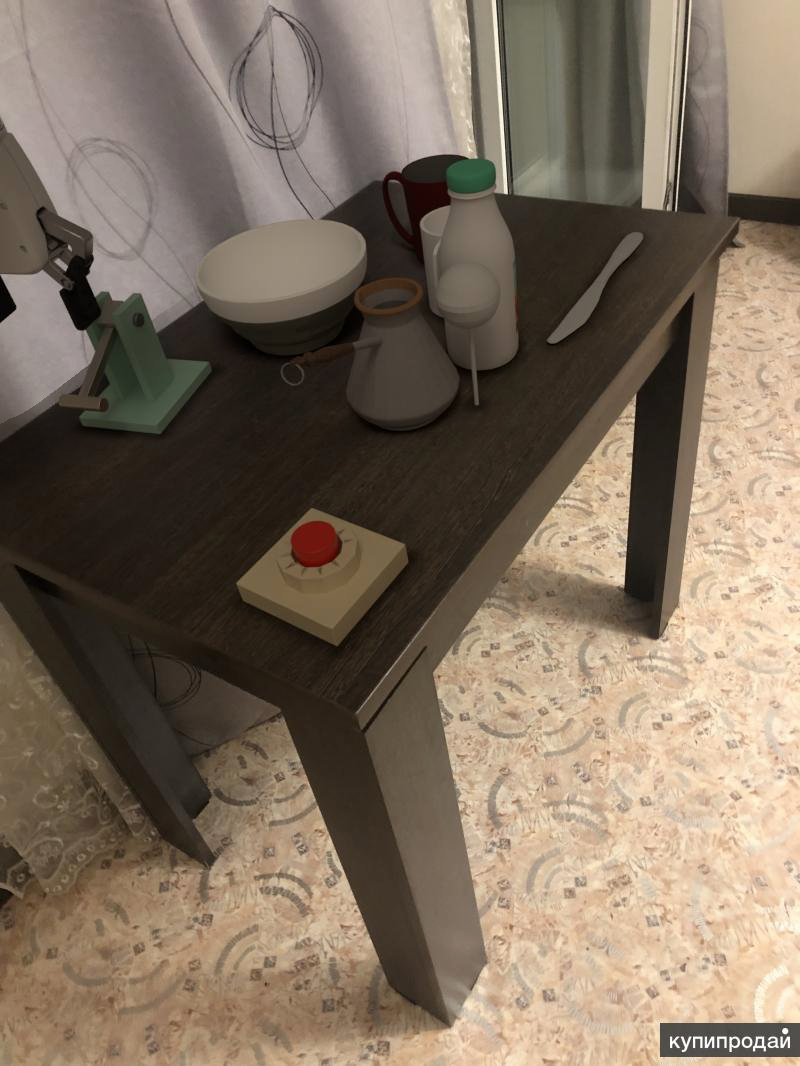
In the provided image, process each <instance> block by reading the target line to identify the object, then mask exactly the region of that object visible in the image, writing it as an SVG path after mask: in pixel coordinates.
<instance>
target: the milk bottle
mask: <svg viewBox="0 0 800 1066" xmlns="http://www.w3.org/2000/svg"><path fill="white" fill-rule="evenodd" d="M496 169H497V168H496V164H495V163H494V162H493V161H492V160H490V159H486V158H480V157H479V158H477V157H475V158H469V159H466V160H462V161H458V162H456V163H454V164H452V165H451V166H449V167H448V169H447V172H446V180H447V186H448V194H449V195H450V196H451V205H450V211H449V216H448V219H447V222H446V225H445V228H444V231H443V234H442V237H441V242H440V249H439V266H440V278H441V277H442V275H443V274H444V273H445V272H446V271H447V270H448V269H449V268H451V267H452V266H454V265H456V264H459V263H462V262H475V263H479V264H481V265H483V266H485V267H487V268H488V269H489V270H490V271H491V272H492V273H493V274H494V276H495V277H496V279H497V281H498V283H499V285H500V292H501V294H500V302H499V305H498V308H497V310H496V312H495V314H494V315H493V317H492V318H491V319H490V320H489V321H488V322H486V323H485V324H483V325H481V326H479V327H476V328H473V334H474V347H475V359H476V371H487V370H494V369H496V368H500V367H503V366H504V365H506V364H507V363H510V362H511V360H513V359H514V357H516V355H517V352H518V350H519V315H518V313H519V312H518V286H517V265H516V251H515V246H514V241H513V238H512V237H513V236H512V234H511V231H510V228H509V227H508V225H507V223H506V221H505V219H504V217H503V215H502V214H501V211H500V209H499V206H498V203H497V200H496V196H495V191H496V190H497V183H496V181H497V171H496ZM443 320H444V330H445V331H444V332H445V339H446V347H447V355H448V356H449V358H450V360H451V361H452V363H453V364H454V365H455V366H459V368H463V369H465V370H471V371H472V368H471V356H470V345H469V333H468V329H462V328H458V327H456V326H453V325H451V324H450V323H449V322H447V321H446V320H445V319H444V318H443Z"/></svg>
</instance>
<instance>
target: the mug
mask: <svg viewBox="0 0 800 1066" xmlns="http://www.w3.org/2000/svg"><path fill="white" fill-rule="evenodd" d="M466 159H470V158H469V157H467V156H465V155H460V154H451V153H449V154H447V153H446V154H434V155H429V156H425V157H422V158H419V159H416V160H413V161H410V162H409V163H408V164H406V165H404V167H403V168H402V170H401V172H400V171H396V170H392V171H389V172H388V173H387V174H385V176H384V178H383V180H382V185H381V191H382V192H381V193H382V197H383V203H384V206H385V210H386V212H387V215H388V218H389V219H390V222H391V224H392V226H393V228H394V229H395V231H396V232H397V233H398V235H399V236H400V237H401V238H402V239H403V240H404V241H405V242H406V243H408V244H409V245H411V246H413V247H414V248H415V252H416V257H417V260H418V261H419V262H420V263H421V264H423V265H425V263H424V255H423V246H422V238H421V229H420V222H421V220H422V218H423V217H424V216H425V215H427V214H428V213H430V212H432V211H434V210H436V209H439V208H442V207H445V206H450V205H451V196H450V195H449V194H448V186H447V180H446V172H447V169H448V167H449V166H451V165H452V164H454V163H456V162H458V161H462V160H466ZM390 181H396V182H398V183H400V185H402V189H403V194H404V195H403V196H404V200H405V205H406V209H407V215H408V219H409V224H410V229H411V232H412V233H409V232H408V231H407V230H406V229H405V227H404V226H403V225H402V223H401V222H400V220H399V218H398V217H397V215H396V213H395V210H394V207H393V204H392V202H391V201H392V200H391V196H390V192H389V182H390Z"/></svg>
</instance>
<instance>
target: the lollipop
mask: <svg viewBox="0 0 800 1066" xmlns="http://www.w3.org/2000/svg"><path fill="white" fill-rule="evenodd" d="M500 294H501V292H500V285H499V283H498V281H497V279H496V277H495V276H494V274H493V273H492V272H491V271H490V270H489V269H488V268H487V267H485V266H483V265H481V264H479V263H475V262H462V263H459V264H456V265H454V266H452V267H451V268H449V269H448V270H447V271H446V272H445V273H444V274H443V275H442V277H441V278H440V280H439V283H438V285H437V288H436V293H435V301H436V304H437V307H438V310H439V312H440V314H441V315H442V316H443V317H442V318H443V320H444V319H445V320H446V321H447V322H449V323H450V324H451V325H453V326H456V327H458V328H462V329H468V333H469V345H470V356H471V368H472V370H471V379H472V390H473V402H474V405H475V406H479V405H480V397H479V385H478V373H477V370H476V359H475V347H474V334H473V328H476V327H479V326H481V325H483V324H485V323H486V322H488V321H489V320H490V319H491V318H492V317H493V315H494V314H495V312H496V310H497V308H498V305H499V302H500Z"/></svg>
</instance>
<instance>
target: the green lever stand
mask: <svg viewBox="0 0 800 1066" xmlns="http://www.w3.org/2000/svg"><path fill="white" fill-rule="evenodd" d="M95 298H96V300H97V303H98V305H99V307H100V309H101V310H102V308H103V305H104V303H105V300H113V298H112V296H111V293H110V291H100V292H99V293H98V294H97V295H95ZM123 301H124V302H123V303H122V304H121V305H120V306H119V307H118V308H117V309H116V310H115V311H114V312H113V313H112V314H111V317H112V319H113V321H114V324H115V326H116V328H117V331H118V333H119V335H120V336H117V339H116V341H115V344H114V346H113V349H112V352H111V354H110V357H109V360H108V362H107V365H106V367H105V370H104V374H105V376H106V379H107V381H108V383H109V384H108V386H107V387H106V388H105V389H104V390H103V391H102V392H101V393H100V394H99V395H98V396H97V397H102V398H106V399H107V400H108V403H109V407H108V410H107V411H106V412H96V411H86V410H83V412H82V413H81V414H80V416H78V420H79V421H80V423H81V425H82V426H83V427H88V428H89V427H90V428H98V429H107V430H109V429H110V430H119V431H128V432H136V433H137V432H138V433H145V434H155V435H162V433H163V432H164V430H165V429H166V428H167V427H168V425H169V424H170V423H171V422H172V421H173V420H174V418H175V417H176V416H177V414H178V413H179V412H180V411H181V410H182V408H183V407H184V406H185V405H186V403H187V402H188V401H189V400H190V399H191V397H193V395H194V394H195V392H196V391H197V390H198V389H199V388H200V387H201V385H202V384H203V382H204V381H205V380H206V379H207V378H208V376H209V375H210V374H211V373H212V371H213V368H212V365H211V363H210V361H205V360H204V361H203V360H202V361H201V360H189V359H177V358H167V357H166V354H165V351H164V349H163V346H162V344H161V341H160V339H159V336H158V334H157V331H156V329H155V325H154V323H153V320H152V318H151V315H150V313H149V310H148V308H147V305H146V302H145V300H144V297H143V294H142V293H141V292H133V293H131V295H129V296H128V298H127V299H125V300H123ZM98 318H99V317H98ZM98 318H97V319H96V320H95V321H94V322H93V323H92V324H91V325H90V326H89V327H88V328H87V329H86V330H85V332H86V334H87V336H88V339H89V341H90V344H91V345H92V348H93V350H94V352H95V351H96V348H97V346H98V343H99V341H100V338H101V336H102V333H103V330H104V329H103V328H102V327H101V326H100V325H99V324H98V323H97V320H98Z"/></svg>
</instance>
